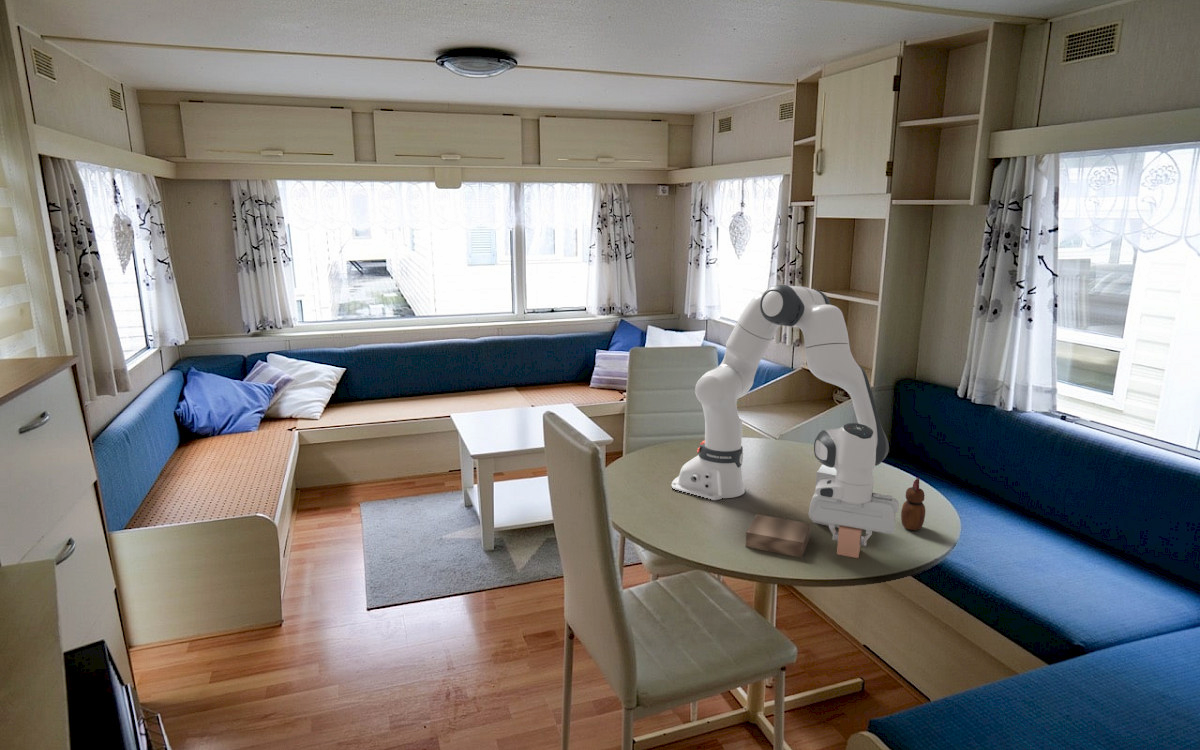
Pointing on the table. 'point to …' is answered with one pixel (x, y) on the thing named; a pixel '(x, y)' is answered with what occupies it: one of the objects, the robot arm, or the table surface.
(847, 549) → the terracotta block
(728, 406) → the robot arm
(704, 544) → the table surface
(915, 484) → the wooden figurine
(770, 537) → the walnut stand
